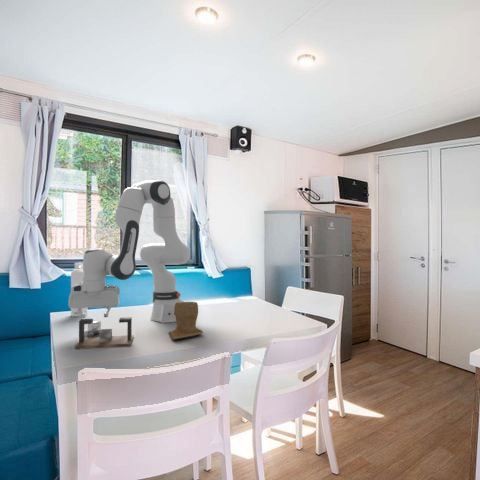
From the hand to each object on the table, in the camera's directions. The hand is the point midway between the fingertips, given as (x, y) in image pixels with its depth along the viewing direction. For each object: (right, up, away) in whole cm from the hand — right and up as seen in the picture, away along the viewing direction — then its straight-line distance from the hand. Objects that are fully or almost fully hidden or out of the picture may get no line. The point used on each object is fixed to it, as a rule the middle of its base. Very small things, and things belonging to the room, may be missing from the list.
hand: (94, 317), depth 142 cm
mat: (0, -7, -1) cm, 7 cm away
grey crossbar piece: (0, -7, -1) cm, 7 cm away
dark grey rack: (+9, -8, -11) cm, 16 cm away
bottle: (-23, -7, +34) cm, 42 cm away
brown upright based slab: (+39, -8, -1) cm, 40 cm away
